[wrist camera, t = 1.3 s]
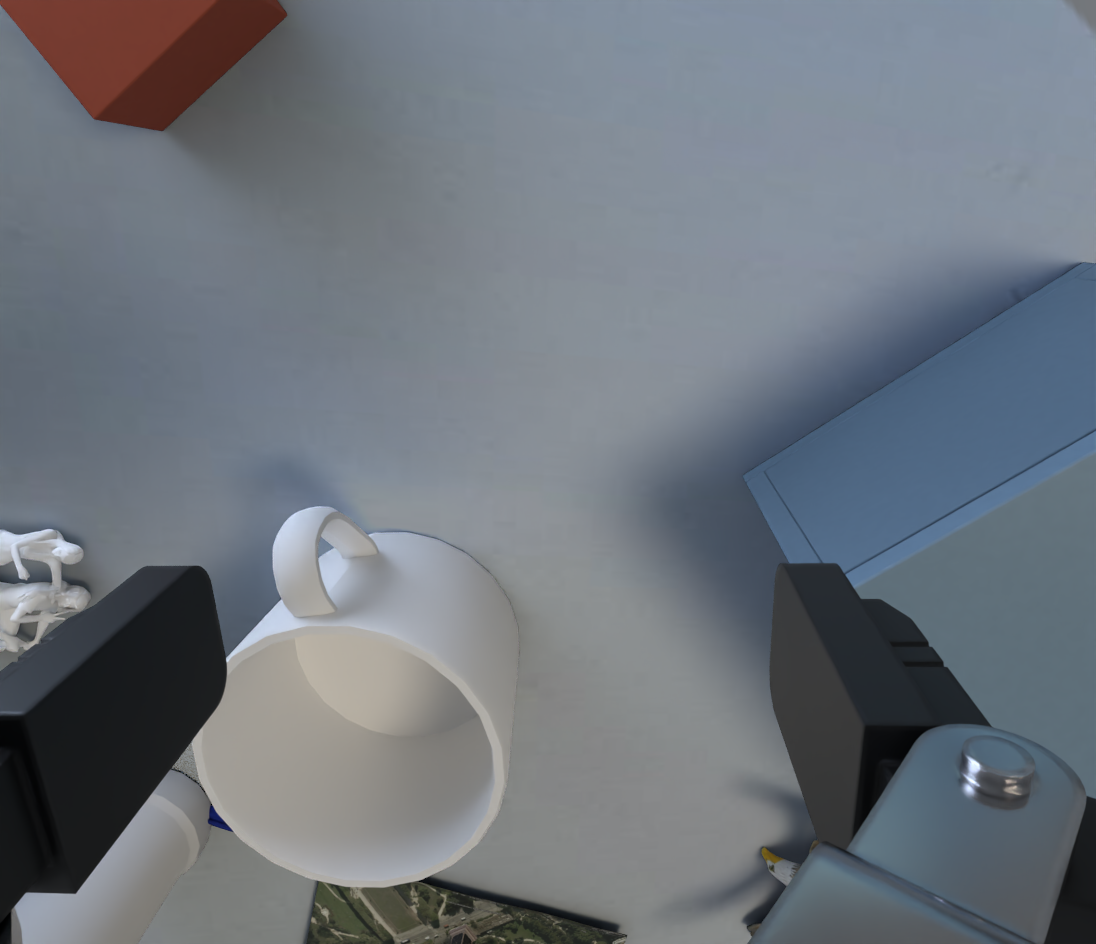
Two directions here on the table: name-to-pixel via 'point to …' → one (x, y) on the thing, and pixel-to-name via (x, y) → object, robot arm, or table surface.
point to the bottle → (126, 873)
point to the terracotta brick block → (142, 50)
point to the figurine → (37, 585)
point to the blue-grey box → (939, 432)
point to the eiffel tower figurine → (436, 919)
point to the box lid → (1012, 602)
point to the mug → (366, 707)
